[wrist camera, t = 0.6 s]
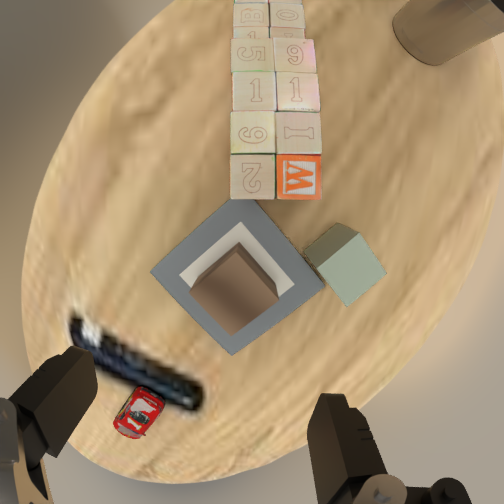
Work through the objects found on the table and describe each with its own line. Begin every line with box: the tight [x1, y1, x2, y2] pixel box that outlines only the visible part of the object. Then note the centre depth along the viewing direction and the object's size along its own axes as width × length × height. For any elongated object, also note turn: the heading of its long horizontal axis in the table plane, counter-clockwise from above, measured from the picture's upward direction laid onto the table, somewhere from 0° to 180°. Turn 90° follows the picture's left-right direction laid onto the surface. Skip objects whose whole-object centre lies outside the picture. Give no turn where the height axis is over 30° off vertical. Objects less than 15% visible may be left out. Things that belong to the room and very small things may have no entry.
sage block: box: [303, 223, 387, 307], centre depth 28 cm, size 5×5×7 cm
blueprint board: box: [150, 199, 325, 356], centre depth 29 cm, size 14×14×6 cm
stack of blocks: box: [230, 0, 322, 200], centre depth 22 cm, size 21×6×12 cm, turn 0°
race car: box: [113, 387, 165, 439], centre depth 36 cm, size 13×5×4 cm, turn 143°
